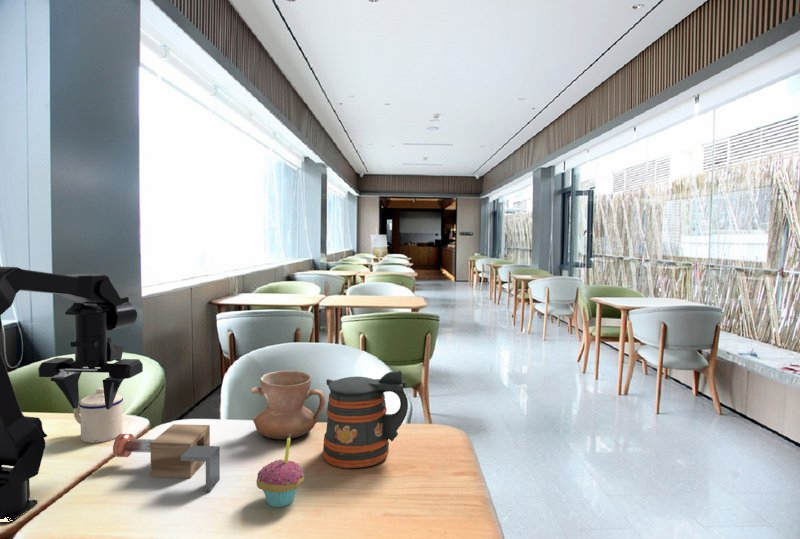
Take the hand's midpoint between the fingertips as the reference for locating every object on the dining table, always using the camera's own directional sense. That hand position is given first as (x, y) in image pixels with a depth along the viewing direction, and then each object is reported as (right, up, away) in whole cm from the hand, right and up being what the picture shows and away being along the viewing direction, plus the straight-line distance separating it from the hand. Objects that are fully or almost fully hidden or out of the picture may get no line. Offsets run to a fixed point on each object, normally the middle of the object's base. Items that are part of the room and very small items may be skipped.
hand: (92, 408), depth 106 cm
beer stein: (+56, -13, +7) cm, 58 cm away
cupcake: (+42, -14, -13) cm, 46 cm away
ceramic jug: (+37, -12, +19) cm, 43 cm away
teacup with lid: (-8, -11, +16) cm, 21 cm away
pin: (+12, -10, +1) cm, 16 cm away
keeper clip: (+25, -13, -7) cm, 29 cm away
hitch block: (+18, -12, +1) cm, 22 cm away
